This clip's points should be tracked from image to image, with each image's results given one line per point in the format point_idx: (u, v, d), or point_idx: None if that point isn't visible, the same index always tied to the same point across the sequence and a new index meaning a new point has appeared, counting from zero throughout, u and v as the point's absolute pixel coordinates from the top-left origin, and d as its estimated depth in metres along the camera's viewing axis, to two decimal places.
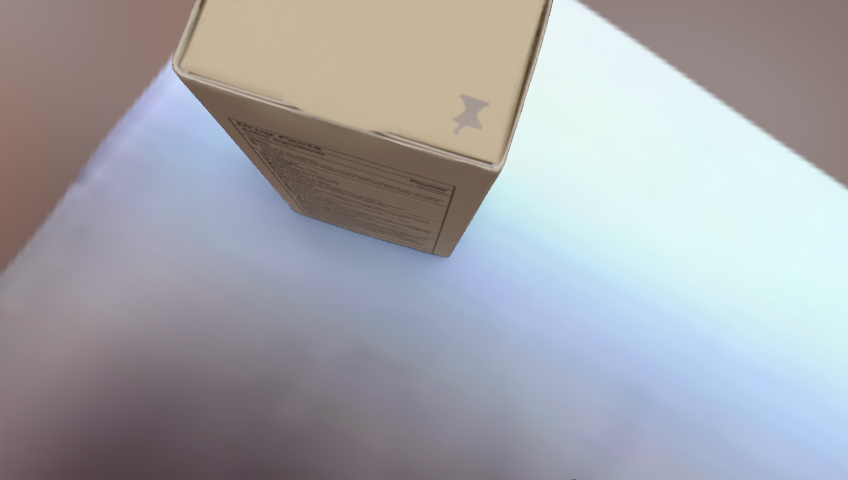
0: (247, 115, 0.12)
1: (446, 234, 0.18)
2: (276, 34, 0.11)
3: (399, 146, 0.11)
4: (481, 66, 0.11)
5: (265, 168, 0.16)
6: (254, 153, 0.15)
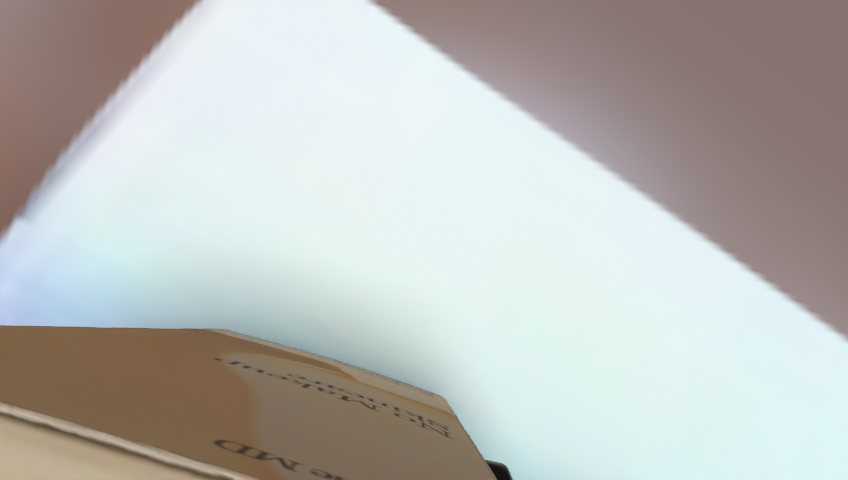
0: None
1: None
2: None
3: None
4: None
5: None
6: None
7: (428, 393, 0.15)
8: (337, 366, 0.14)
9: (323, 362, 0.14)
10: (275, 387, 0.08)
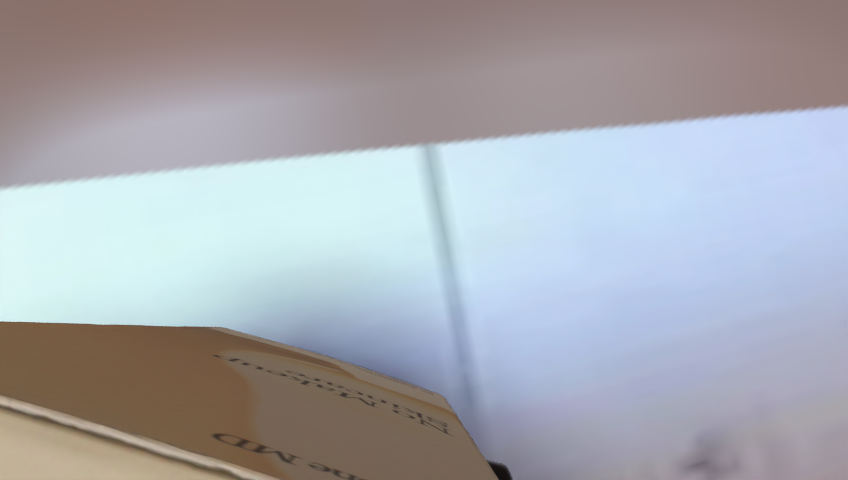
0: None
1: None
2: None
3: None
4: None
5: None
6: None
7: (427, 391, 0.15)
8: (336, 364, 0.14)
9: (322, 360, 0.14)
10: (274, 383, 0.08)
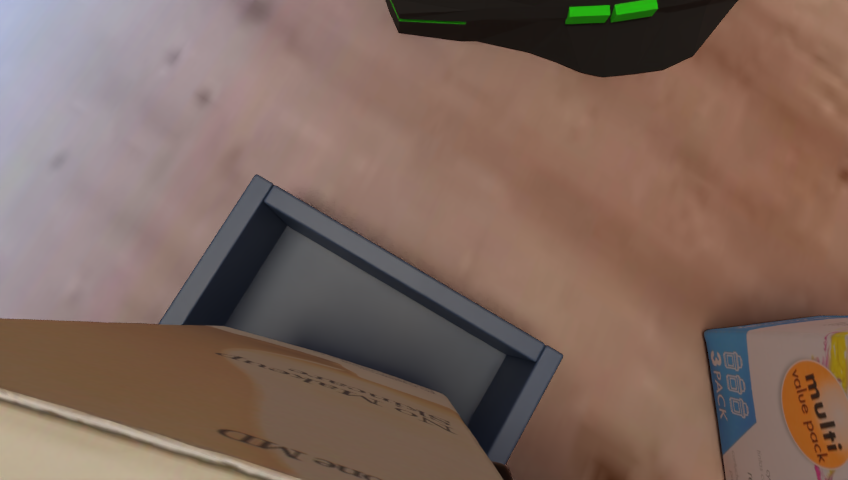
0: None
1: None
2: None
3: None
4: None
5: None
6: None
7: (429, 390, 0.15)
8: (338, 363, 0.14)
9: (324, 359, 0.14)
10: (277, 381, 0.08)
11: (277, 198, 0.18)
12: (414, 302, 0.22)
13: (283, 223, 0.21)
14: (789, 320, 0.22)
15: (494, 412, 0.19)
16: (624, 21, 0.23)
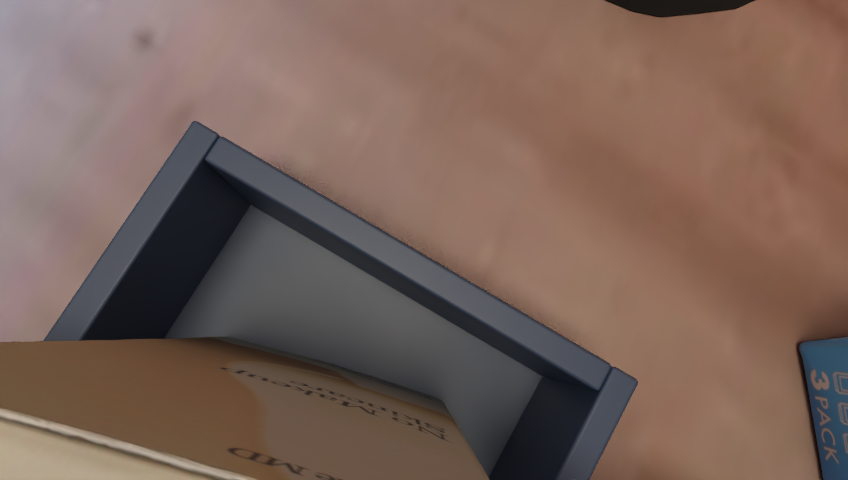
0: None
1: None
2: None
3: None
4: None
5: None
6: None
7: (426, 396, 0.15)
8: (338, 371, 0.14)
9: (324, 368, 0.14)
10: (280, 395, 0.08)
11: (224, 154, 0.12)
12: (419, 306, 0.17)
13: (244, 200, 0.16)
14: None
15: (534, 460, 0.13)
16: None
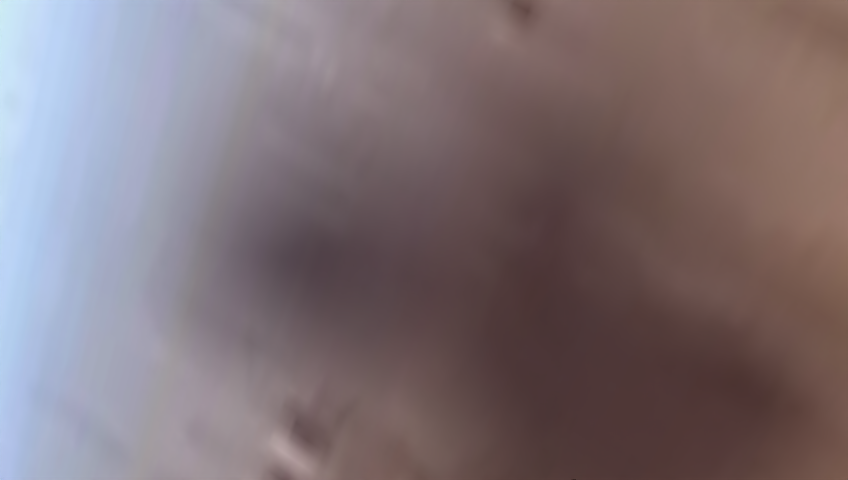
0: None
1: None
2: None
3: None
4: None
5: None
6: None
7: None
8: None
9: None
10: None
11: None
12: None
13: None
14: None
15: None
16: None
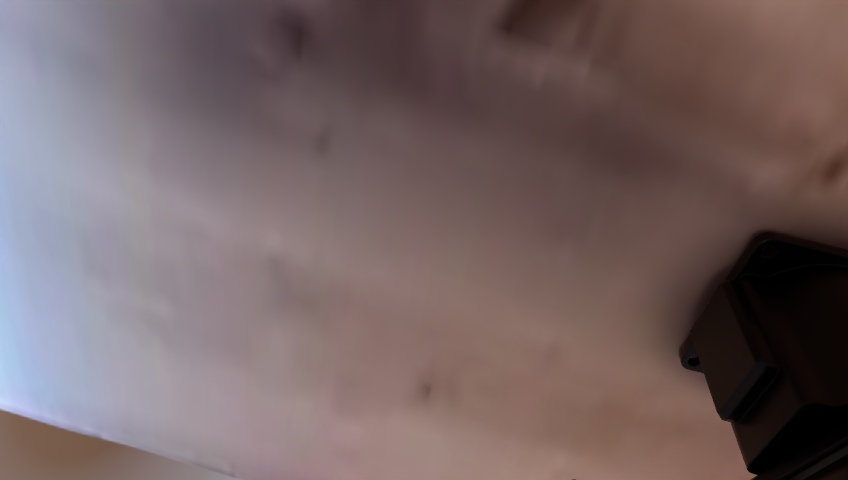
0: None
1: None
2: None
3: None
4: None
5: None
6: None
7: None
8: None
9: None
10: None
11: None
12: None
13: None
14: None
15: None
16: None
